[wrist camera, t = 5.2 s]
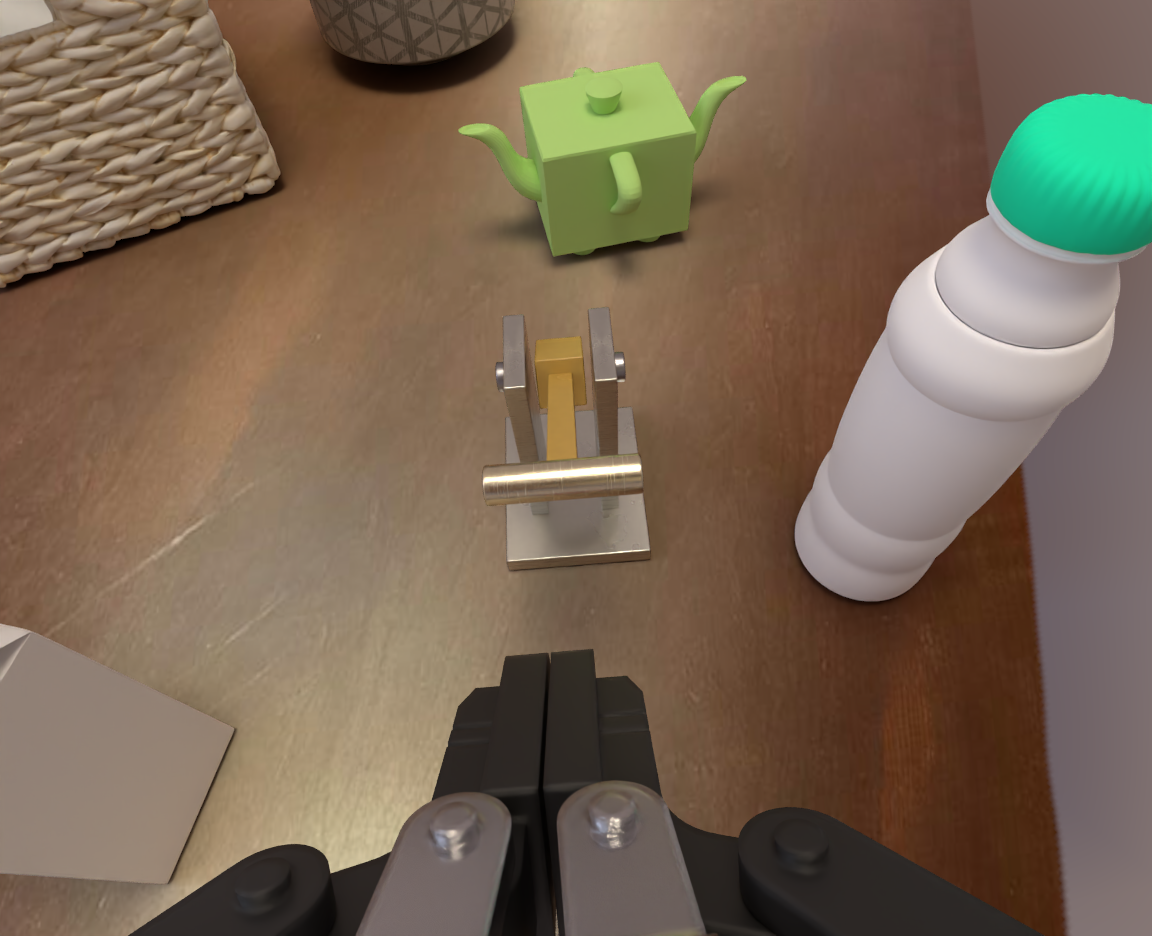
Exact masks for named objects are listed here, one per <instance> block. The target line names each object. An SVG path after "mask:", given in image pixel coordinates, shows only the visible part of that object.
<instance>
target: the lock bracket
mask: <svg viewBox="0 0 1152 936" xmlns="http://www.w3.org/2000/svg"><path fill="white" fill-rule="evenodd" d="M588 322H589V339H590V356H591V373H592V390H593V407H594V410H585V411H575V418H576V435H577V451H578V458H582V457H594V456H606V455H618V454H631V453H638V448H637V440H636V433H635V425H634V417H633V409H632V407H622V408H618V386H617V382H624V381H625V361H624V354H623V352H614V346H613V337H612V329H611V320H610V312H609V308H608V307H603V308H591V309H588ZM496 380H497V387H498V390H499V392H504V394H505V398H506V403H507V407H508V411H509V416H510V417H506V418H505V445H506V464H508V463H520V462H532V461H545V460H547V414H540V409H539V403H538V397H537V391H536V385H535V379H534V373H533V367H532V361H531V355H530V349H529V343H528V337H527V331H526V325H525V319H524V315H522V314H521V315H509V316H503V362H497V363H496ZM650 551H651V549H650V542H649V534H648V526H647V518H646V510H645V503H644V495H643V493H642V494H634V495H621V496H609V497H597V498H584V499H572V500H559V501H547V502H535V503H522V504H510V505H506V560H507V564H508V567H509V570H521V569H534V568H546V567H559V566H572V565H584V564H597V563H610V562H622V561H635V560H647V559H650Z"/></svg>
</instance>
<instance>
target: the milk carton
mask: <svg viewBox="0 0 1152 936" xmlns="http://www.w3.org/2000/svg"><path fill="white" fill-rule="evenodd" d="M233 732H234V728H233V727H231V726H229V725H227V724H225V723H223V722H221V721H219V720H217V719H215V718H213V717H211V716H209V715H206V714H204V713H202V712H200V711H198V710H196V709H194V708H192V707H190V706H188V705H186V704H184V703H182V702H179V701H177V700H175V699H173V698H171V697H169V696H167V695H165V694H163V693H161V692H159V691H157V690H154V689H152V688H150V687H148V686H146V685H144V684H142V683H140V682H138V681H136V680H134V679H132V678H129V677H127V676H125V675H123V674H121V673H119V672H117V671H115V670H113V669H111V668H109V667H107V666H104V665H102V664H100V663H98V662H96V661H94V660H92V659H90V658H88V657H86V656H84V655H82V654H79V653H77V652H75V651H73V650H71V649H69V648H67V647H65V646H63V645H61V644H59V643H57V642H54V641H52V640H50V639H48V638H46V637H44V636H42V635H39V634H37V633H35V632H32V631H29V630H26V629H22V628H18V627H13V626H8V625H4V624H0V873H2V874H17V875H32V876H47V877H62V878H77V879H92V880H106V881H121V882H136V883H151V884H167V883H168V882H169V880H170V877H171V875H172V873H173V870H174V868H175V866H176V863H177V861H178V859H179V857H180V854H181V852H182V850H183V847H184V845H185V843H186V840H187V838H188V836H189V834H190V831H191V829H192V827H193V824H194V822H195V820H196V817H197V815H198V813H199V810H200V808H201V806H202V804H203V801H204V799H205V797H206V794H207V792H208V790H209V787H210V785H211V783H212V780H213V778H214V776H215V773H216V771H217V769H218V767H219V764H220V762H221V760H222V757H223V755H224V753H225V750H226V748H227V746H228V743H229V741H230V739H231V736H232V734H233Z"/></svg>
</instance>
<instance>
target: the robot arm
mask: <svg viewBox="0 0 1152 936" xmlns="http://www.w3.org/2000/svg"><path fill="white" fill-rule="evenodd" d="M556 910H557V919H558V928H559V936H1044V935H1042V934H1040V933H1039V932H1037V931H1035V930H1033V929H1031V928H1030V927H1028V926H1026V925H1024V924H1022V923H1021V922H1019V921H1017V920H1015V919H1013V918H1012V917H1010V916H1008V915H1006V914H1005V913H1003V912H1001V911H999V910H997V909H996V908H994V907H992V906H990V905H988V904H987V903H985V902H983V901H981V900H980V899H978V898H976V897H974V896H972V895H971V894H969V893H967V892H965V891H963V890H962V889H960V888H958V887H956V886H955V885H953V884H951V883H949V882H947V881H946V880H944V879H942V878H940V877H938V876H937V875H935V874H933V873H931V872H929V871H928V870H926V869H924V868H922V867H921V866H919V865H917V864H915V863H913V862H912V861H910V860H908V859H906V858H904V857H903V856H901V855H899V854H897V853H896V852H894V851H892V850H890V849H888V848H887V847H885V846H883V845H881V844H879V843H878V842H876V841H874V840H872V839H871V838H869V837H867V836H865V835H863V834H862V833H860V832H858V831H856V830H854V829H853V828H851V827H849V826H847V825H846V824H844V823H842V822H840V821H838V820H837V819H835V818H832V817H830V816H828V815H826V814H823V813H820V812H818V811H814V810H810V809H804V808H796V807H784V808H776V809H772V810H768V811H765V812H762V813H760V814H758V815H756V816H755V817H753V818H752V819H750V820H749V821H748V822H747V823H746V824H745V826H744V827H743V829H742V830H741V832H740V835H739V838H737V837H731V836H725V835H720V834H715V833H710V832H706V831H703V830H700V829H697V828H695V827H693V826H691V825H689V824H687V823H685V822H684V821H682V820H681V819H679V818H678V817H677V816H675V815H674V814H673V813H672V812H671V811H670V809H669V808H668V807H667V805H666V803H665V802H664V800H663V798H662V794H661V790H660V785H659V779H658V774H657V768H656V763H655V757H654V752H653V747H652V741H651V736H650V731H649V725H648V719H647V714H646V709H645V703H644V698H643V692H642V691H641V690H640V689H639V688H638V687H637V686H636V685H635V684H634V683H633V682H632V681H631V680H630V679H629V678H628V677H627V676H618V677H606V678H596V673H595V662H594V651H593V649H587V650H574V651H562V652H552V653H551V664H550V659H549V654H548V653H539V654H527V655H514V656H506V657H505V661H504V666H503V671H502V677H501V682H500V686H496V687H484V688H475V689H474V690H473V692H472V693H471V694H470V695H469V696H468V697H467V698H466V699H465V700H464V701H463V702H462V703H461V704H460V705H459V706H458V709H457V713H456V717H455V720H454V724H453V730H452V731H451V734H450V738H449V741H448V747H447V748H446V752H445V755H444V759H443V762H442V766H441V769H440V773H439V776H438V780H437V783H436V787H435V791H434V794H433V798H432V801H431V802H429V803H427V804H425V805H424V806H422V807H421V808H419V809H418V810H417V811H415V812H414V813H413V814H412V815H411V816H410V817H409V818H408V820H407V821H406V822H405V823H404V825H403V827H402V829H401V830H400V833H399V835H398V837H397V840H396V842H395V844H394V847H393V849H392V851H391V852H389V853H387V854H385V855H383V856H381V857H379V858H376V859H373V860H371V861H368V862H365V863H362V864H359V865H356V866H353V867H350V868H346V869H343V870H340V871H337V872H334V873H331V874H330V869H329V864H328V860H327V859H326V857H325V855H324V854H323V853H322V852H320V851H319V850H317V849H315V848H314V847H311V846H307V845H300V844H288V845H281V846H276V847H272V848H268V849H265V850H263V851H260V852H257V853H255V854H253V855H251V856H249V857H247V858H245V859H243V860H241V861H240V862H238V863H236V864H235V865H233V866H232V867H230V868H229V869H227V870H226V871H224V872H223V873H221V874H220V875H218V876H217V877H215V878H214V879H212V880H211V881H209V882H208V883H206V884H205V885H203V886H202V887H200V888H199V889H197V890H196V891H194V892H193V893H191V894H190V895H188V896H187V897H185V898H184V899H182V900H181V901H179V902H178V903H176V904H175V905H173V906H172V907H170V908H169V909H167V910H166V911H164V912H163V913H161V914H160V915H158V916H157V917H155V918H154V919H152V920H151V921H149V922H148V923H146V924H145V925H143V926H142V927H140V928H139V929H137V930H136V931H134V932H133V933H131V934H130V935H128V936H555V928H556Z"/></svg>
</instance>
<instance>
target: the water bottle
mask: <svg viewBox="0 0 1152 936" xmlns="http://www.w3.org/2000/svg"><path fill="white" fill-rule="evenodd" d="M986 204H987V210H988V212H989V215H988V216H987V217H985V218H983V219H981V220H979V221H977V222H975V223H974V224H972V225H970V226H969V227H967V228H966V229H964V230H963V231H961V232H960V233H959V234H958V235H957V236H956V237H955V238H954V239H953V240H952V241H951V242H950V243H949V244H947V245H946V246H944V247H943V248H941V249H940V250H938V251H937V252H936V253H934V254H933V255H931V256H930V257H929V258H927V259H926V260H925V261H923V262H922V263H921V264H920V265H918V266H917V267H916V268H915V269H914V270H913V271H912V272H911V273H910V274H909V275H908V276H907V278H906V279H905V280H904V281H903V283H902V284H901V286H900V287H899V289H898V291H897V292H896V294H895V296H894V299H893V301H892V303H891V306H890V309H889V313H888V317H887V325H886V329H885V330H884V332H883V333H882V335H881V337H880V339H879V340H878V342H877V344H876V346H875V347H874V349H873V351H872V353H871V355H870V357H869V359H868V361H867V363H866V365H865V367H864V369H863V371H862V373H861V375H860V377H859V379H858V382H857V384H856V386H855V388H854V390H853V393H852V395H851V397H850V400H849V402H848V404H847V407H846V409H845V411H844V414H843V416H842V419H841V422H840V424H839V427H838V430H837V433H836V436H835V439H834V442H833V446H832V448H831V450H830V451H829V452H828V454H827V455H826V457H825V458H824V460H823V462H822V464H821V466H820V468H819V470H818V472H817V475H816V477H815V480H814V484H813V488H812V490H811V491H810V493H809V494H808V496H807V498H806V499H805V501H804V503H803V505H802V507H801V509H800V512H799V514H798V517H797V520H796V525H795V543H796V548H797V551H798V554H799V557H800V558H801V560H802V562H803V564H804V566H805V567H806V569H807V570H808V571H809V572H810V574H811V575H812V576H813V577H814V578H815V579H816V580H817V581H818V582H820V583H821V584H822V585H824V586H825V587H826V588H828V589H829V590H831V591H833V592H835V593H837V594H839V595H841V596H844V597H847V598H850V599H854V600H860V601H882V600H888V599H891V598H894V597H897V596H899V595H901V594H903V593H904V592H906V591H908V590H909V589H910V588H911V587H913V586H914V585H915V584H916V583H917V582H918V581H919V580H920V579H921V577H922V576H923V575H924V574H925V572H926V571H927V570H928V568H929V567H930V566H931V564H932V562H933V561H934V559H935V557H937V556H938V555H939V554H940V553H942V552H943V551H944V550H945V549H946V548H947V547H948V546H949V545H950V544H951V543H952V541H953V540H954V539H955V538H956V536H957V535H958V534H959V532H960V531H961V529H962V527H963V526H964V524H965V522H966V520H967V519H968V518H969V517H970V516H971V515H972V514H974V513H975V512H976V511H977V510H978V509H979V508H980V507H981V506H982V505H983V504H984V503H985V502H986V501H987V500H988V499H989V498H990V497H991V496H992V495H993V494H994V493H995V492H996V491H997V490H998V489H999V488H1000V487H1001V486H1002V485H1003V483H1004V482H1005V481H1006V480H1007V479H1008V478H1009V477H1010V476H1011V475H1012V473H1013V472H1014V471H1015V470H1016V469H1017V468H1018V467H1019V465H1020V464H1021V463H1022V462H1023V461H1024V460H1025V458H1026V457H1027V456H1028V455H1029V454H1030V452H1031V451H1032V450H1033V449H1034V447H1035V446H1036V445H1037V444H1038V443H1039V441H1040V440H1041V439H1042V437H1043V436H1044V435H1045V433H1046V432H1047V431H1048V429H1049V428H1050V427H1051V425H1052V424H1053V422H1054V421H1055V420H1056V418H1057V417H1058V415H1059V414H1060V412H1061V411H1062V409H1063V408H1064V407H1065V406H1067V405H1068V404H1070V403H1071V402H1073V401H1074V400H1076V399H1077V398H1078V397H1079V396H1081V395H1082V394H1083V393H1084V392H1085V391H1086V390H1087V389H1088V388H1089V387H1090V386H1091V385H1092V383H1093V382H1094V381H1095V379H1096V378H1097V377H1098V376H1099V374H1100V373H1101V371H1102V369H1103V368H1104V366H1105V364H1106V361H1107V359H1108V356H1109V353H1110V350H1111V346H1112V342H1113V335H1114V321H1115V307H1116V304H1117V301H1118V297H1119V293H1120V275H1119V266H1118V263H1119V262H1122V261H1125V260H1128V259H1130V258H1132V257H1134V256H1136V255H1138V254H1140V253H1141V252H1142V251H1143V250H1144V249H1145V248H1146V247H1147V245H1148V244H1149V243H1151V242H1152V105H1151V104H1143V103H1141V102H1140V101H1139V100H1129V99H1128V98H1126V97H1122V96H1121V97H1115V96H1113V95H1110V94H1107V95H1105V96H1103V95H1100V94H1095V93H1094V94H1092V95H1087V94H1080V95H1077V96H1068V97H1065V98H1063V99H1057V100H1054V101H1052V102H1051V103H1048V104H1044V105H1043V106H1041V107H1040V108H1038V109H1037V110H1035V111H1034V112H1032V113H1031V114H1030V115H1029V116H1028V117H1027V118H1026V119H1025V120H1024V121H1023V122H1022V123H1021V124H1020V125H1019V127H1018V128H1017V129H1016V131H1015V132H1014V134H1013V135H1012V137H1011V139H1010V140H1009V142H1008V144H1007V146H1006V148H1005V150H1004V152H1003V154H1002V156H1001V158H1000V160H999V162H998V165H997V167H996V169H995V172H994V175H993V178H992V182H991V188H990V190H989V192H988V195H987V199H986Z"/></svg>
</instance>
